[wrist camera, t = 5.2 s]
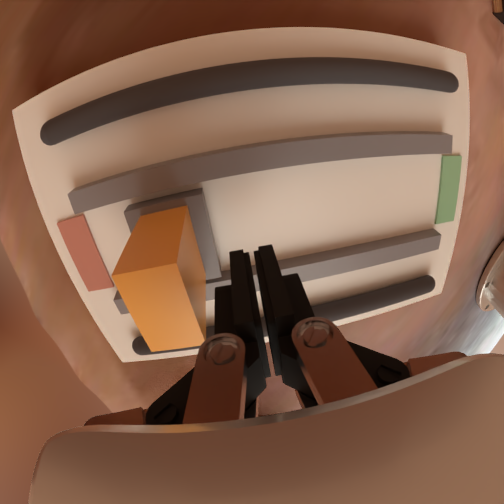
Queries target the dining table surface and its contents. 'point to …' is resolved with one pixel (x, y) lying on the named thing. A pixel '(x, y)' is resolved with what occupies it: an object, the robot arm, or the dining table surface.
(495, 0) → the hardcover book
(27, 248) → the dining table surface
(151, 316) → the handle
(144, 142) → the slider track board
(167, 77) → the dressed cords
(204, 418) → the robot arm
